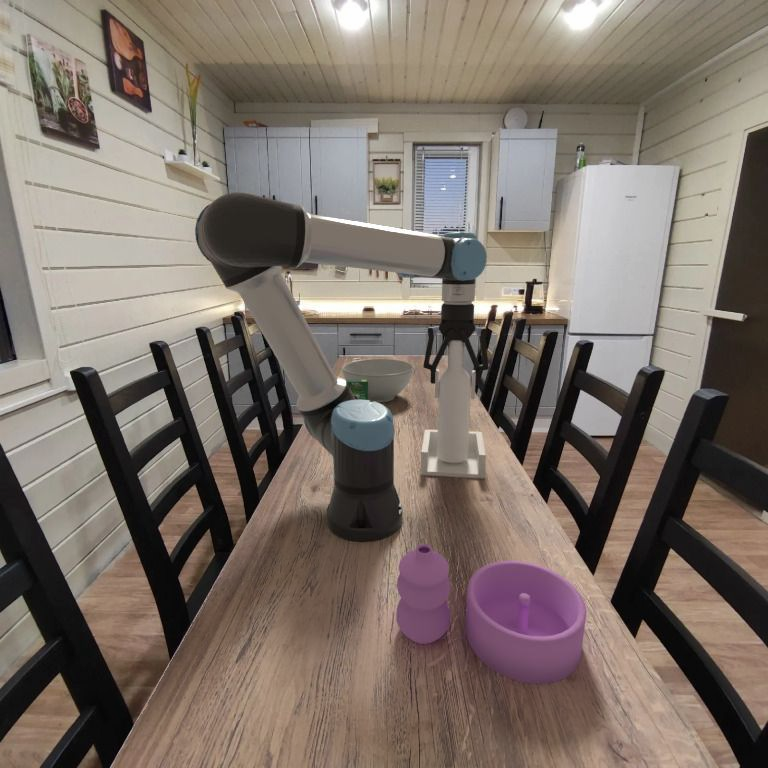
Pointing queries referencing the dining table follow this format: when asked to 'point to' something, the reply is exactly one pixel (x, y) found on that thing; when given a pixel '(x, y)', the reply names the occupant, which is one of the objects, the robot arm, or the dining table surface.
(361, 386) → the coffee box
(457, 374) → the bottle
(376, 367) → the decorative bowl
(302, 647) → the dining table surface
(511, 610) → the container set
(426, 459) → the bottle rest
